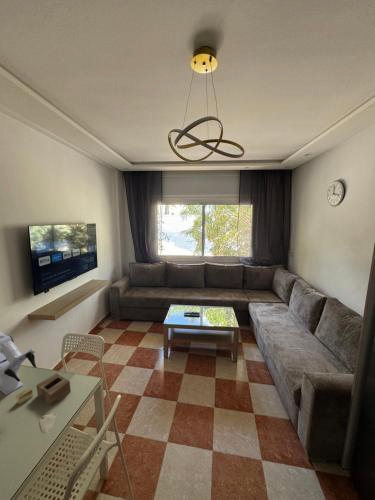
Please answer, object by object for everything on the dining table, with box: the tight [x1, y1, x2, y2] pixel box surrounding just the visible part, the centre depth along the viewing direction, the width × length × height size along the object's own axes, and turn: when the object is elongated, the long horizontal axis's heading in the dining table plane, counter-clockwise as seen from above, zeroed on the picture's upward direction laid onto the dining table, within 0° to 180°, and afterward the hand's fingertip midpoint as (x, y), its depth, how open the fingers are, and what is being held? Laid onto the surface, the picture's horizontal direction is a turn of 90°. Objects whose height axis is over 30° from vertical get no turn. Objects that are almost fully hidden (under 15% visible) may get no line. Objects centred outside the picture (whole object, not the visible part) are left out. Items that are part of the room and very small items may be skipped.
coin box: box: [36, 372, 71, 406], centre depth 116 cm, size 12×10×6 cm
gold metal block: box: [15, 387, 34, 406], centre depth 112 cm, size 2×6×4 cm, turn 150°
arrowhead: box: [39, 412, 58, 434], centre depth 100 cm, size 7×2×10 cm
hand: (27, 373), depth 107 cm, fingers open, 7 cm apart
